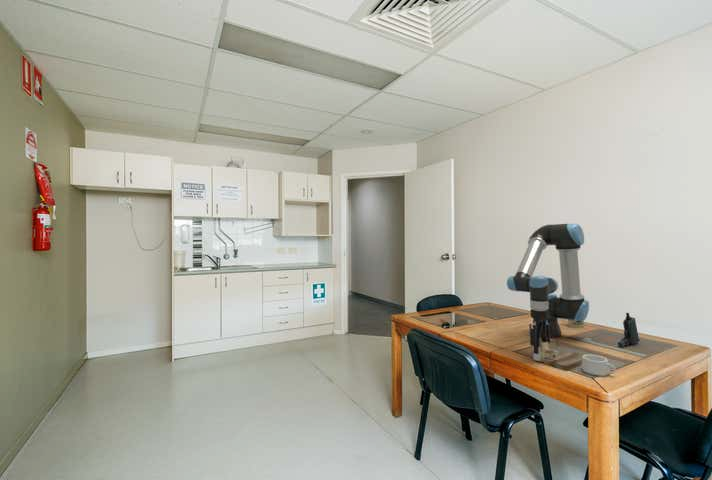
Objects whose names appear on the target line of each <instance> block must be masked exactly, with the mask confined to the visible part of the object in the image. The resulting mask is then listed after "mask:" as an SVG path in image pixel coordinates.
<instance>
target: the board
mask: <svg viewBox="0 0 712 480" xmlns="http://www.w3.org/2000/svg"><path fill="white" fill-rule="evenodd" d="M583 355H584V354H582V353H578V352H573V351H569V350H564V351H562V352H558V355H555V358H553V355H552V356H549V358H546V359H544V362H543V364H544V365H545V366H549V367H553V368H557V369H560V370H563V371H566V372H567V371H570V370H572V369H575V368H577V367H579V366H582V357H583Z"/></svg>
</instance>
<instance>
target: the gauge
mask: <svg viewBox="0 0 712 480" xmlns="http://www.w3.org/2000/svg"><path fill="white" fill-rule="evenodd" d="M531 346H532V345H531ZM539 347H540V349H541V361H540V363H541V362H542V363H544V359H546V358H549V357H550V355H552V356H553V358H555V355H558V354H559V350H555V349H551V348H550V344H549V343H548V342H544V341H542V340H540V343H539ZM531 348H532V353H531V354H532V360H534V346H532V347H531Z"/></svg>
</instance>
